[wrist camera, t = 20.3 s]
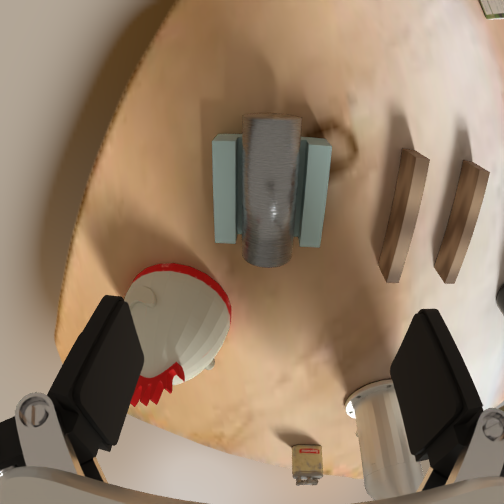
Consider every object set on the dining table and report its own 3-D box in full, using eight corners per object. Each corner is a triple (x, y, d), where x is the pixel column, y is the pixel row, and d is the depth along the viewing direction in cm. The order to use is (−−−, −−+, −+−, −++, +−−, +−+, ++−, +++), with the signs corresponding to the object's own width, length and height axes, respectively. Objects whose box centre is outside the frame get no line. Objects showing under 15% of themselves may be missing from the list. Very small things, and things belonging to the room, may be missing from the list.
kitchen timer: (110, 286, 40) (62, 372, 27) (190, 244, 36) (150, 343, 23) (172, 352, 46) (148, 437, 33) (251, 325, 41) (243, 425, 29)
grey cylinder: (291, 242, 33) (292, 268, 29) (244, 240, 33) (239, 266, 29) (299, 114, 26) (304, 122, 22) (245, 112, 26) (239, 119, 22)
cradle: (315, 230, 34) (319, 247, 31) (220, 226, 34) (215, 242, 31) (325, 138, 28) (332, 146, 25) (218, 133, 29) (212, 140, 26)
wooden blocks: (443, 267, 35) (454, 283, 32) (378, 265, 35) (386, 282, 32) (472, 162, 28) (489, 172, 25) (402, 148, 28) (416, 157, 25)
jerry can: (323, 444, 61) (326, 482, 53) (318, 450, 63) (320, 487, 55) (294, 443, 61) (294, 482, 52) (289, 449, 63) (289, 487, 54)
